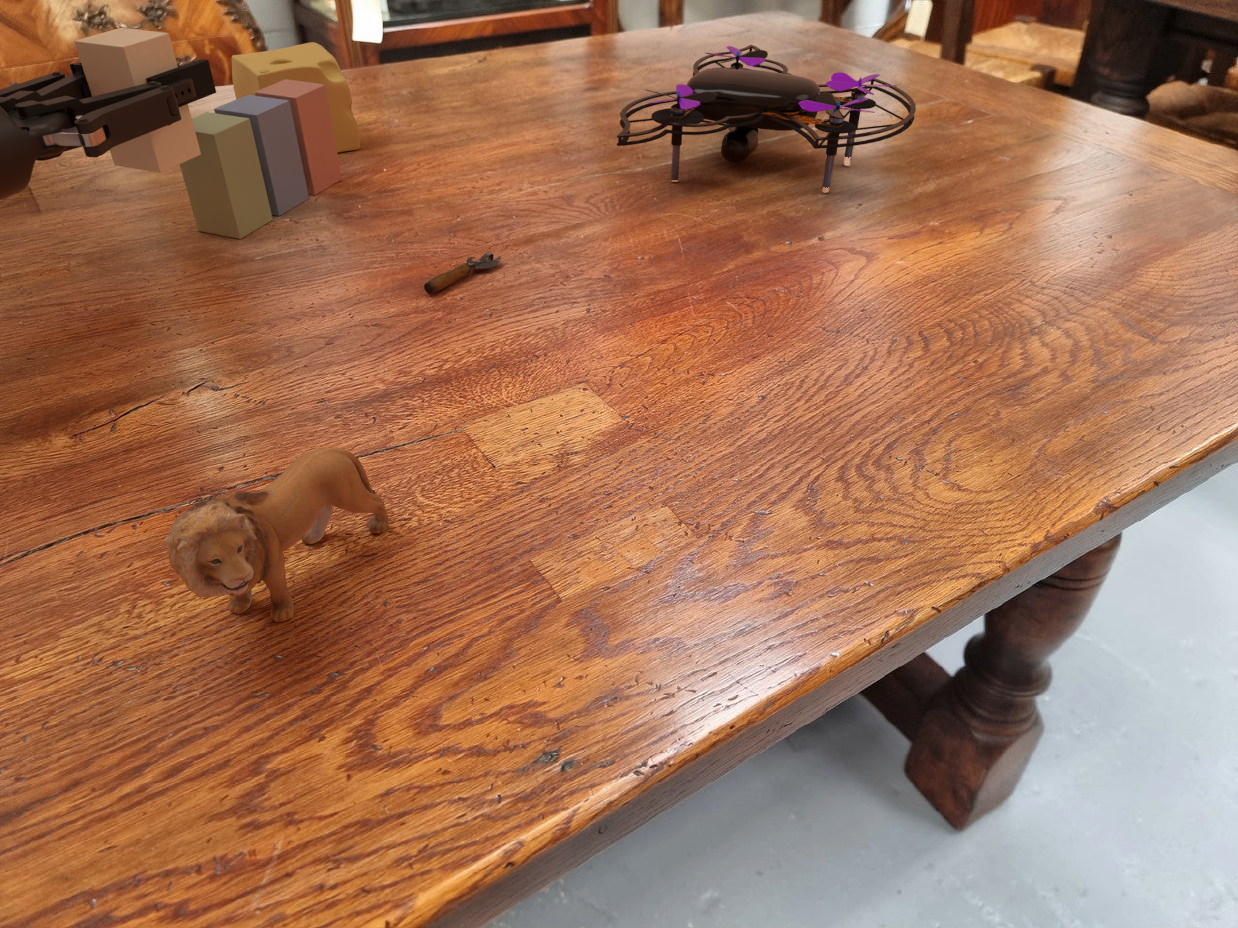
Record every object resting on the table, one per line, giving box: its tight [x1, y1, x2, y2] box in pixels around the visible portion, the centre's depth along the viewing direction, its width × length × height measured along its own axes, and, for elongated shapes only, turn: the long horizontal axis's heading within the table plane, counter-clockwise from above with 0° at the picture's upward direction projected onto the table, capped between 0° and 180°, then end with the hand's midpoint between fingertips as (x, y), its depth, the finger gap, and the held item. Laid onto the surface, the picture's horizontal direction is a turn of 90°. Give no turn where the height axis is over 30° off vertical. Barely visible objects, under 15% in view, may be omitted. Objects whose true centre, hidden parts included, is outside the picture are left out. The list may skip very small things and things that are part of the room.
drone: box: [616, 44, 917, 188], centre depth 102 cm, size 40×10×28 cm
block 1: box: [74, 27, 201, 174], centre depth 77 cm, size 5×5×10 cm
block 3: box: [213, 95, 310, 217], centre depth 93 cm, size 5×5×10 cm
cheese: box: [231, 41, 361, 154], centre depth 107 cm, size 10×11×10 cm
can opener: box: [423, 251, 502, 295], centre depth 82 cm, size 9×2×1 cm, turn 140°
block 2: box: [179, 111, 274, 240], centre depth 88 cm, size 5×5×10 cm
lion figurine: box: [164, 447, 390, 623], centre depth 50 cm, size 15×5×9 cm, turn 161°
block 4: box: [255, 79, 343, 196], centre depth 97 cm, size 5×5×10 cm
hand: (182, 72), depth 81 cm, fingers closed on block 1, 5 cm apart
